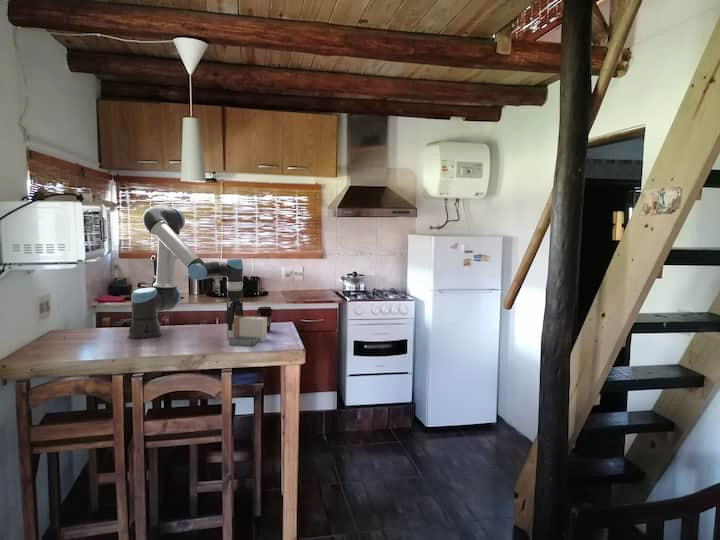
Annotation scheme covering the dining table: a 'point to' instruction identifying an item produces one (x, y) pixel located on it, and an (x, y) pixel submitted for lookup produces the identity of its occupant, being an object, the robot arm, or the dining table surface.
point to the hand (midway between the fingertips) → (234, 334)
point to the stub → (235, 327)
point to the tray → (244, 341)
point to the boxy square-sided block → (253, 327)
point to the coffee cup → (265, 315)
